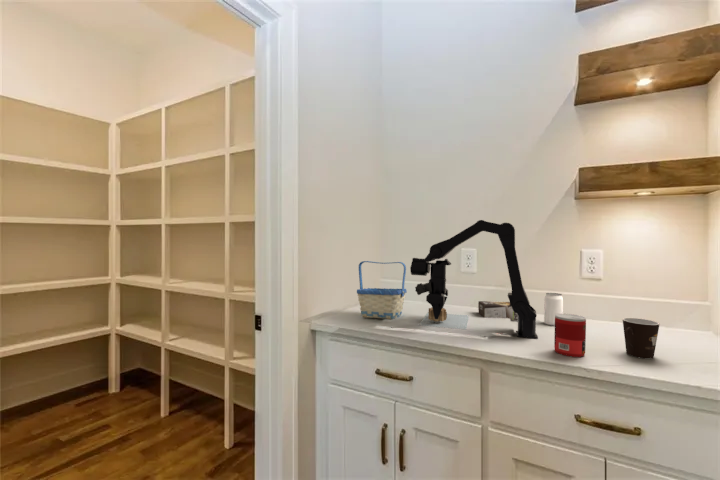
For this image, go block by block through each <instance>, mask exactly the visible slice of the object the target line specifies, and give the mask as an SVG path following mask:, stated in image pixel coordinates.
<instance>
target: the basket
mask: <svg viewBox="0 0 720 480" xmlns="http://www.w3.org/2000/svg"><path fill="white" fill-rule="evenodd" d="M364 263H371V264H384V265H386V264H387V265H388V264H390V262H378V261H369V260H364V261H360V262H359V264H358V277H359V281H358V282H359V289H356V294H357V297H358V302H359V306H360V307H359V309H360V314H361V318H368V319H369V318H371V319H380V320H381V319H384V320H385V319H388V320H393V319H396V318H399V317H401V316H402V313H403V312H402V310H403V306H404V303H405V302H404V301H405V299H406V293H407V288H405V281H406V280H405V279H406V273H407V266H406V264H405V263H404V262H402V261H397V262H395V261H394V262H391V264H401V265H402V266H403V274H402V283H401V288H376V287H374V288H369V287H368V288H363V276H362V265H363V264H364Z"/></svg>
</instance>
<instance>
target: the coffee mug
mask: <svg viewBox="0 0 720 480" xmlns="http://www.w3.org/2000/svg"><path fill="white" fill-rule="evenodd" d="M622 325H623V334H624V344H625V353H626V354H627V355H629V356H630V357H634V358H638V357H640V358H639V359H645V358H652V359H654V358H653V357H655V351H656V346H657V340H658V335H659V330H660V329H659V328H660V323H659V322H658V321H654V320H652V319H645V318H638V317H623V318H622Z"/></svg>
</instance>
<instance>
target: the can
mask: <svg viewBox="0 0 720 480" xmlns="http://www.w3.org/2000/svg"><path fill="white" fill-rule="evenodd" d="M543 312H544V313H543V315H544V316H543V323H544V324H545V325H546V326H547V325H548V326H551V325H552V326H551V327H555V315H556V314H564V298H563V294H562V293H556V292H545V296H544V311H543Z"/></svg>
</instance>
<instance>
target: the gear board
mask: <svg viewBox="0 0 720 480" xmlns="http://www.w3.org/2000/svg"><path fill="white" fill-rule="evenodd" d="M468 322H469V315H468V314H457V313H456V314H454V313H447V319H446V320H444V321H433V320H430V319H429V311H427V313H426V314H425V315H424V317H423V318H422V320H421V321H420V323H418V326H422V327H423V326H424V327H435V328H444V329H445V328H446V329H447V328H448V329H457V330H467V328H468Z"/></svg>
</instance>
